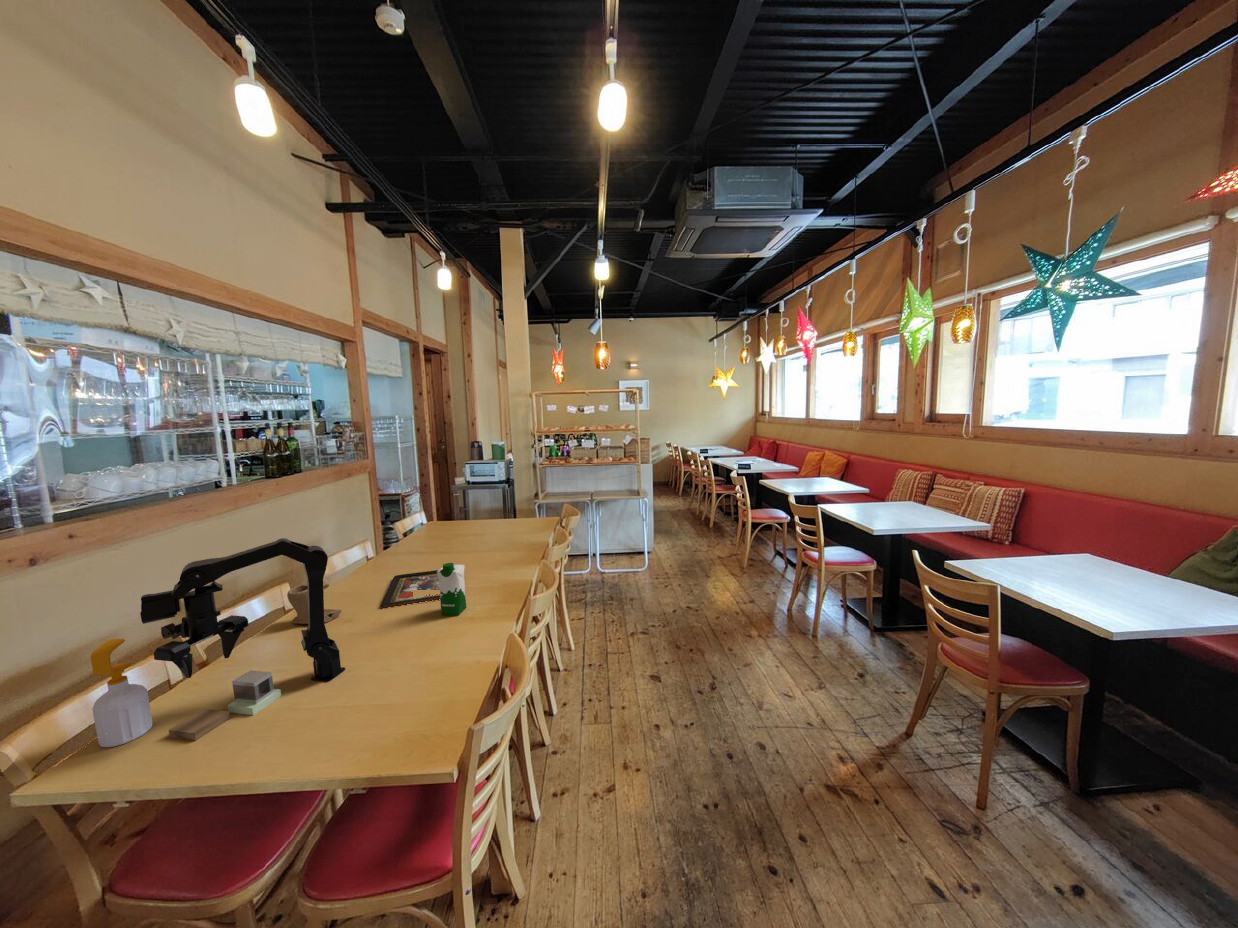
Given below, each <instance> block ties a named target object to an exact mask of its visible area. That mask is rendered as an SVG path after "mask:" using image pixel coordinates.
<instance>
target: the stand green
mask: <svg viewBox="0 0 1238 928" xmlns="http://www.w3.org/2000/svg"><path fill="white" fill-rule="evenodd" d="M280 697H282V691H281V689H278V688H274V693H273V694H271V695H270V696H268V697H267V698H265V699H264V700H262V701H261V702H259V703H258V704H250V703H241V702H235V700H234V701H231V702H230V703H229V704H227V711H229V714H230V713H231V714H232V713H233V714H239V715H248V716H254V715H256V714H257V713H260V711H262V710H263V709H265V708H266V707H267V706H269V705H270V704H272V703H273V702H275V701H277V700H278V699H279V698H280Z"/></svg>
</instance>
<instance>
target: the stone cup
mask: <svg viewBox="0 0 1238 928" xmlns="http://www.w3.org/2000/svg"><path fill="white" fill-rule="evenodd" d="M286 596H287V600H288V602H289V604H290V605H291V606H292V607H293V609H294V610H295V611H296V616H295V617H293V618H292V620H291V622H292V623H293V624H300V625H301V624H302V625H303V624H307V625H308V589H307V583H306V582H304V583H301V584H298V585H296V586H294V587H292V588H290V589H289V590H288V592H287V595H286ZM342 612H343V610H342V609H331V608H330V609H329V608H328V609H327V608H326V609H325V608H324V623H327V622H330V621H332V620H334V619H335V618H338V616H340V614H341V613H342Z"/></svg>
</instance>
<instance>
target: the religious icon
mask: <svg viewBox="0 0 1238 928" xmlns="http://www.w3.org/2000/svg"><path fill="white" fill-rule="evenodd" d="M438 570H439V569H436V570H427V571H421V572H410V573H402V574H398V575H394V576H393V578H392V580H391V581H390V584H389V586H388V587H387V590H386V592H385V595H384V597H383V599H382V601H381V603H380V608H381V609H382V610H383V608H384V609H389V608H388V607H391V608H395V607H394V606H398V607H402V606H401V605H405V606H408V605H407V604H411V605H414V604H413V603H418V604H420V603H419V602H425V601H432V600H438V601H440V600H439V599H440V594H439V595H438V594H436V595H434V596H433V595H432V596H430V594H429V596H427V595H426V596H424V597H423V596H421V597H418V598H416V599H414V598H413V592H411V590H440V589H439V579H438V574H437V571H438ZM432 602H433V601H432ZM425 603H426V602H425Z"/></svg>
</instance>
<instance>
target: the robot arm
mask: <svg viewBox="0 0 1238 928" xmlns="http://www.w3.org/2000/svg"><path fill="white" fill-rule="evenodd" d="M280 556H284V557H287V558H290V559H292V560H294V561H296V562H299V563H302V565H303V568H304V572H305V575H306V579H307V589H308V624H307V626H306V627H307V628H306V629H302V630H300V631H301V637H302V639H301V642H300V643H301V646H302V649H303V652H306V654H307V656H308V657H309V658H313V661H312V665H313V666H312V667H313V673H314V675H312V676H311V677H310V681H311V680H312V681H320V682H330V681H332V680H333V679H335V678H336V677H337V676H339V675H340V674H342V673H343V672H344V671H345V670H346V667H343V666H341V656H340V655H341V654H340V650H339V647H338V645H337V644H336V641H335V640H334V639H332V638H330V637H329V635H328V632H327V629H326V625H325V622H324V609H325V607H324V606H325V601H324V600H325V599H324V597H325V595H324V577H325V573H326V570H327V566H328V561H329V557H328V554H327V553H326V551H325V550H324V549H323V548H322V547H321V546H320V545H319V546H318V545H311V546H309V545H307V544H303V543H301V542H296V541H292V540H290V539H288V538H285V537H283V538H279V539H276V540H274V541H272V542H269V543H266V544H262V545H260V546H259V545H258V546H255V547H252V548H249V549H246V550H243V551H240V552H236V553H234V554H231V555H227V556H222V557H213V558H212V557H211V558H205V559H200V560H195V561H191V562H189V563H187V564H185V566H184V567H183V568H182V569H181V573H180V577H179V580H178V582H177V583H176V584H174V587H173V588H172V590H167V591H166V590H165V591H162V592H157V593H147V594H142V596H141V598H140V603H141V604H140V608H141V610H140V613H139V614H140V620H141V623H142V624H143V625H144V624H150V623H153V622H154V623H155V622H157V621H158V622H159V621H163V620H167V619H171V618H176V616H177V615H178V613H179V612H180V613H181V612H182V599H183V604H184V612H185V616H183V617H181V619H180V620H181V622H180V623H178V624H174V623H173V622H171V623H169V624H166V625H163V626H161V627H160V634H161V636H162V639H165V640H166V639H169V638H171V639H172V641H170V642H167V643H165V644H163V645H160V646H158V647H156V648H155V650H154V651H153V659H154V660H155V661H163V662H164V661H165V662H172V663H174V664H175V666H176V667H177V668H178V669H179V671H181V673H182V674H183V675H184V677H185V678H186V679H191V678H192V677H193V676H192V675H193V653H190V652H191V651H192V650H191V649H192V648H191V647H192V646H195V645H198V644H200V643H202V642H203V641H207V640H208V639H210V638H212V637H215V636H216V635H218V636H219V638H220V639H221V647H222V653H223V657H224V659H229V658H230V656H231V654H232V652H233V649H234V648H235V645H236V643H237V641H238V640H239V638H240V636H241V634H242V632H244V631H245V628H247V627H248V626H249V619H248V618H247V617H246V616H245V615H234V614H232V615H229V616H227V617H225V618H222V619H220V620H218V616H221V611H220V610H217V607H216V599H215V593H217V592H221V591H223V588H224V587H223V584H221V583H218V582H216V581H217V580H218V579H220V578H222V577H223V576H225V575H227V574H229V573H231V572H233V571H235V572H236V571H237V570H241V569H243V568H246V567H250V566H252V565H256V564H258V563H262V562H265V561H268V560H271V559H275V558H277V557H280ZM179 637H181V638H182V639H185V640H183V641H177V640H175V639H178V638H179ZM187 638H188V639H187Z"/></svg>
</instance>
